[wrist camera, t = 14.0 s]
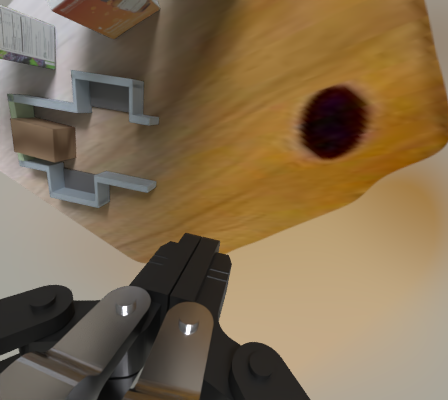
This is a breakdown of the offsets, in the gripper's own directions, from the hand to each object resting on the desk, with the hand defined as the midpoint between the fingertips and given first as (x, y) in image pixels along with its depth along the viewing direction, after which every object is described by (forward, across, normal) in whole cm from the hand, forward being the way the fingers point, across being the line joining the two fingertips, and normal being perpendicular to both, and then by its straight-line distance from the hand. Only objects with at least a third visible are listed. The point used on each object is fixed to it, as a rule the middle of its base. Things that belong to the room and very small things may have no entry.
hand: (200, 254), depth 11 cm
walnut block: (+27, +32, +4) cm, 42 cm away
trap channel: (+27, +26, +3) cm, 37 cm away
